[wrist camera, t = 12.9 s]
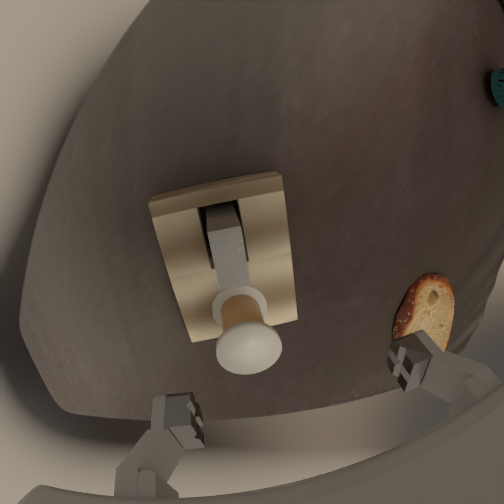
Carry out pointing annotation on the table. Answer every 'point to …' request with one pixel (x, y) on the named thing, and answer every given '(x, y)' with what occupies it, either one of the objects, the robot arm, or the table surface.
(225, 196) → the slot board
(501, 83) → the beverage bottle
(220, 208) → the metal tab
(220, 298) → the bobbin
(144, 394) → the table surface
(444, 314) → the slice of bread
